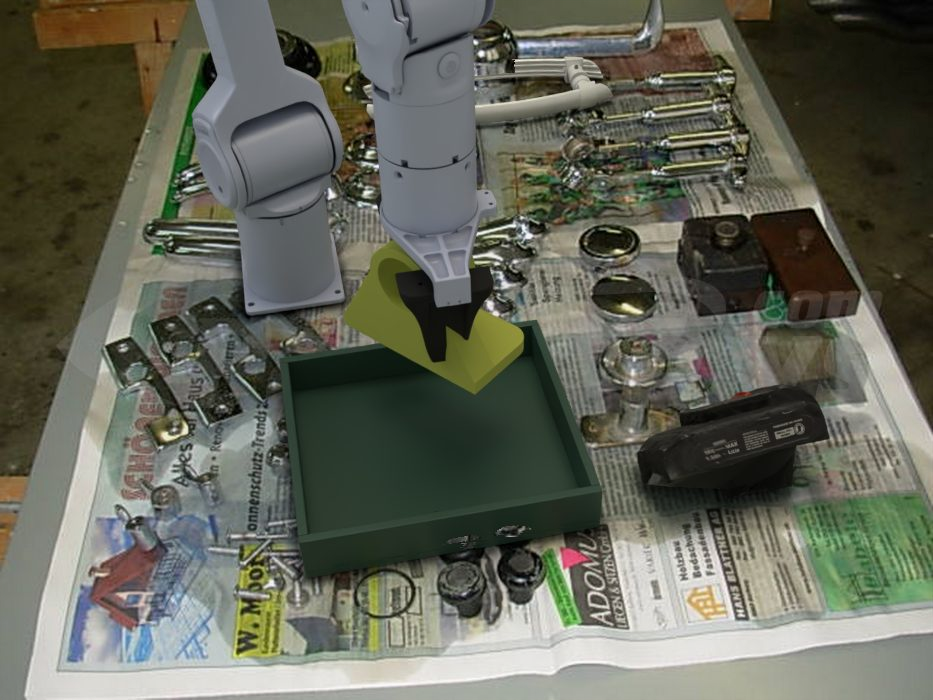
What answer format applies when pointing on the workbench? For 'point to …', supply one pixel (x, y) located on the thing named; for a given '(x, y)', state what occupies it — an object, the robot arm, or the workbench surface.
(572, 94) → the door handle
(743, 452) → the battery
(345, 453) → the parts tray
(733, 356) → the workbench surface
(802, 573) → the workbench surface
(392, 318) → the bracket
